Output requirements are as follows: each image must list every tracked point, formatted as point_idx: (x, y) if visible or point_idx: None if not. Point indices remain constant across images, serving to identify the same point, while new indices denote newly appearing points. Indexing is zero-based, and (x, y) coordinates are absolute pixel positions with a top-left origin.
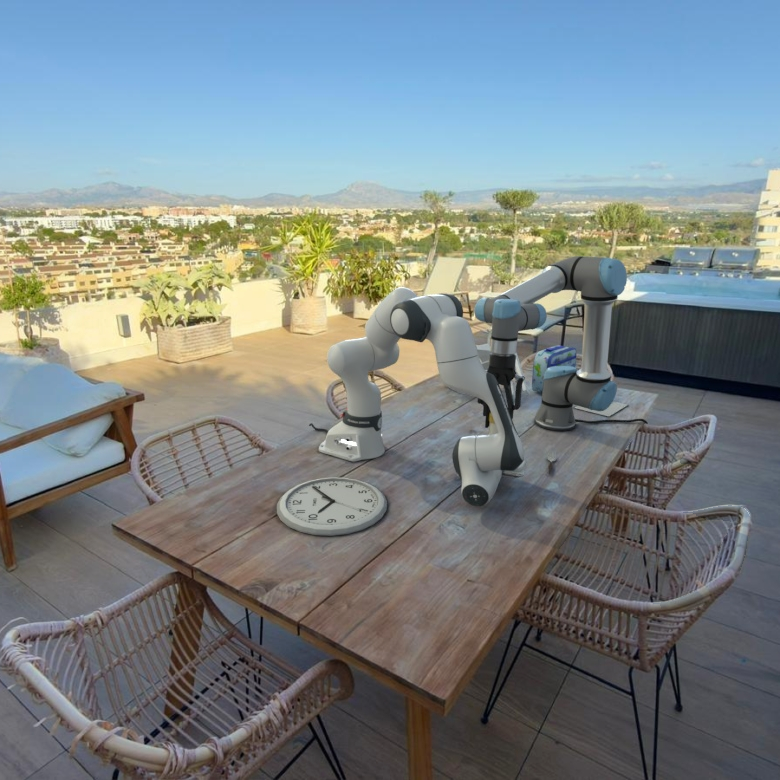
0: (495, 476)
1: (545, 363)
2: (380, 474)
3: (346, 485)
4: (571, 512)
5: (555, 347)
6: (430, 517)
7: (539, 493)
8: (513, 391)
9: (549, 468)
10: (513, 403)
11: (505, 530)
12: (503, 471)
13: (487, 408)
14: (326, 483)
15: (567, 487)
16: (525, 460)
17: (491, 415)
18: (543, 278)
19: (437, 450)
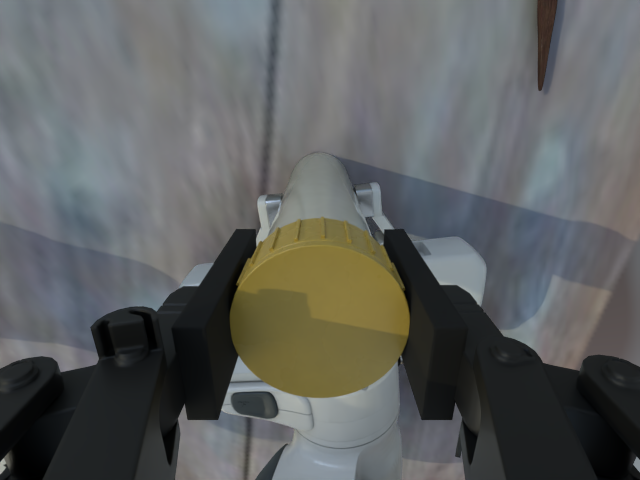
0: (397, 461)
1: None
2: (13, 360)
3: (4, 464)
4: (594, 312)
5: None
6: (260, 469)
7: (500, 248)
8: None
9: (544, 32)
10: (556, 411)
11: (430, 447)
12: (402, 362)
13: (204, 411)
14: None
15: (601, 156)
16: (485, 273)
17: (276, 386)
18: None
19: (17, 75)
